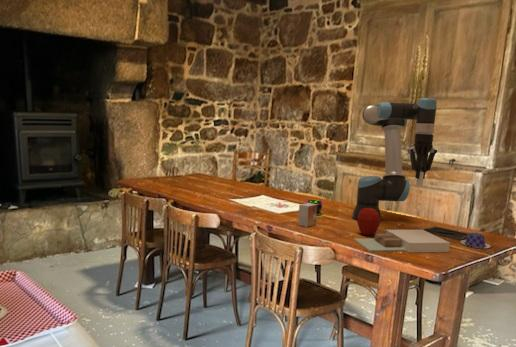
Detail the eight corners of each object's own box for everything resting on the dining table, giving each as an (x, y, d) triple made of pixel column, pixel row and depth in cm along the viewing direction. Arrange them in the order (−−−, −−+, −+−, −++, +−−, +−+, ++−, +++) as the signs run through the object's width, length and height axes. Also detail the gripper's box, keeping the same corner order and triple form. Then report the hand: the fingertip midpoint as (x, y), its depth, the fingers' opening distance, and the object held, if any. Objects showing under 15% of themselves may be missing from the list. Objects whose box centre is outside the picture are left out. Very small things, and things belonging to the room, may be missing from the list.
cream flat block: (385, 238, 182) (386, 229, 181) (421, 237, 185) (422, 229, 184) (408, 252, 162) (409, 243, 162) (448, 251, 165) (449, 242, 164)
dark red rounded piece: (375, 239, 180) (378, 208, 178) (353, 235, 184) (355, 205, 183) (380, 234, 189) (383, 205, 187) (359, 230, 193) (361, 202, 192)
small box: (307, 227, 195) (308, 206, 194) (297, 225, 199) (298, 204, 198) (316, 224, 201) (317, 204, 200) (307, 222, 205) (308, 202, 204)
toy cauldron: (296, 212, 229) (297, 193, 228) (320, 211, 234) (321, 192, 232) (307, 218, 215) (308, 198, 213) (332, 217, 219) (333, 197, 218)
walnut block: (374, 240, 176) (374, 233, 175) (389, 240, 177) (389, 233, 176) (385, 247, 166) (385, 240, 165) (400, 247, 167) (401, 240, 167)
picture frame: (423, 233, 195) (461, 242, 182) (423, 229, 195) (462, 238, 182) (434, 229, 204) (472, 237, 191) (434, 225, 204) (472, 233, 191)
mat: (353, 239, 177) (354, 238, 177) (387, 239, 180) (387, 238, 180) (369, 251, 161) (369, 250, 161) (406, 251, 164) (406, 249, 164)
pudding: (478, 251, 169) (479, 239, 168) (453, 242, 180) (455, 231, 179) (496, 248, 174) (498, 236, 173) (472, 240, 185) (473, 229, 184)
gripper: (414, 133, 172) (409, 187, 176) (442, 134, 174) (437, 187, 177) (406, 132, 180) (401, 184, 183) (433, 133, 181) (428, 184, 185)
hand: (419, 185), depth 180 cm, fingers closed
